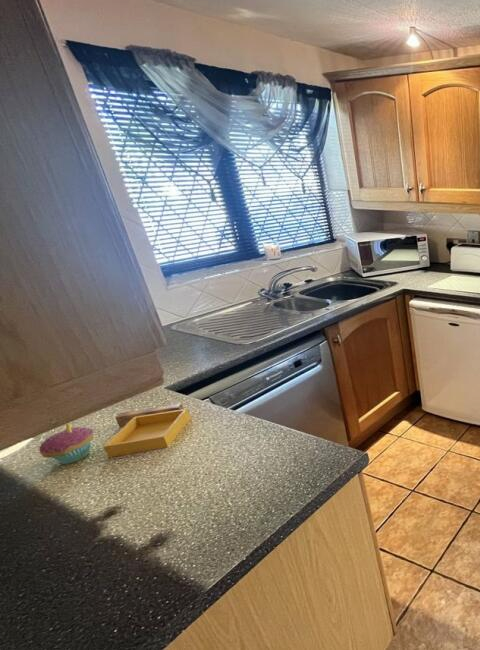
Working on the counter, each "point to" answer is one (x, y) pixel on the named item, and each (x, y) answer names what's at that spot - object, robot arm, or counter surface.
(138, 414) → the rail
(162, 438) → the tray
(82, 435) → the cupcake
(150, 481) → the counter surface
